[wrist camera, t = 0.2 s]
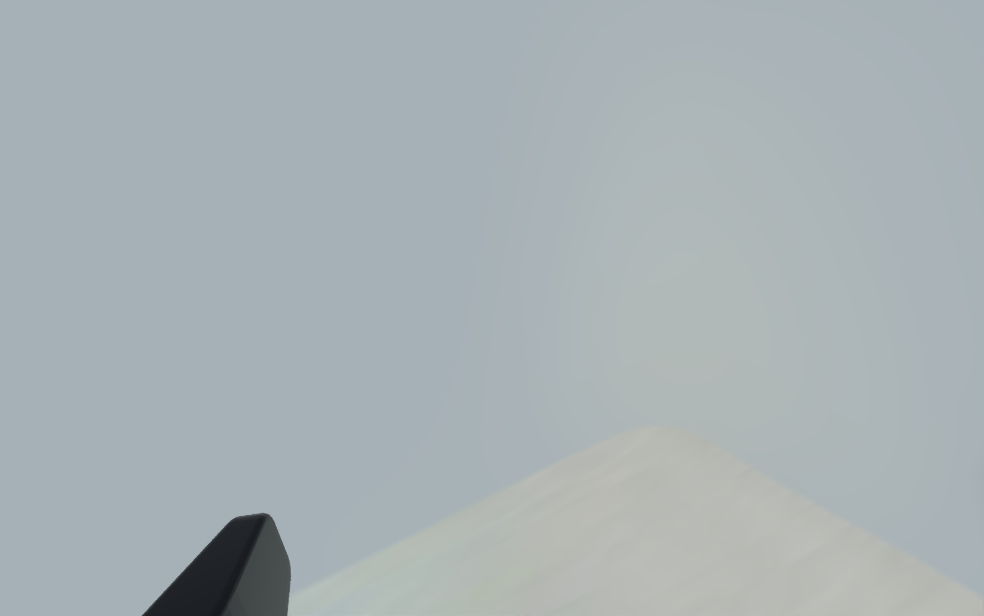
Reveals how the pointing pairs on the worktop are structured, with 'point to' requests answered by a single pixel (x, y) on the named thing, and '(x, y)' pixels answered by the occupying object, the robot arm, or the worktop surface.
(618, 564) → the worktop surface
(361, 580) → the worktop surface
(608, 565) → the worktop surface
